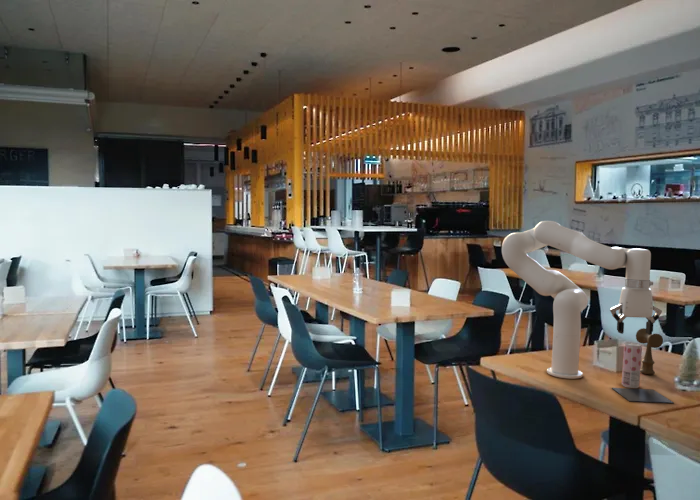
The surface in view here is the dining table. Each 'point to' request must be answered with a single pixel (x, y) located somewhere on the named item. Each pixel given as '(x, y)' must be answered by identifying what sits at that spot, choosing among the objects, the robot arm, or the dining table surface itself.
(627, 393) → the mat
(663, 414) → the dining table surface
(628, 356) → the beverage can
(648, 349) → the kendama
